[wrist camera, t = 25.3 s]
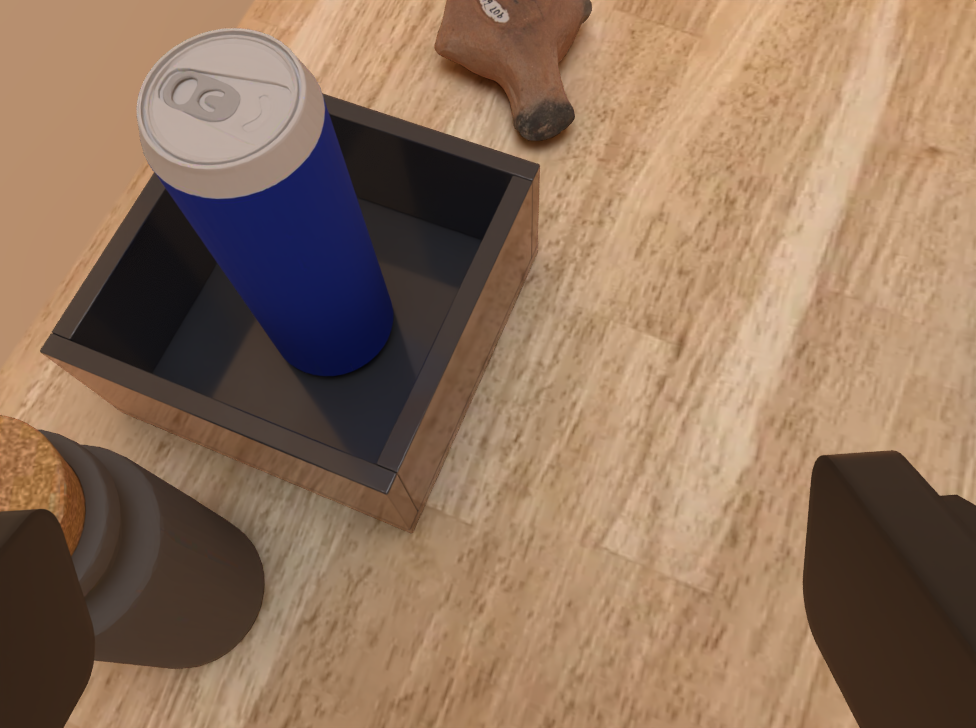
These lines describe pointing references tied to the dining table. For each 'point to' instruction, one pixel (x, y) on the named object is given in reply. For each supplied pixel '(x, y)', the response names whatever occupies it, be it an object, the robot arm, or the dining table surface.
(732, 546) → the dining table surface
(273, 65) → the beverage can
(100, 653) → the bottle
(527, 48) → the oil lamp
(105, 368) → the open box
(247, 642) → the dining table surface
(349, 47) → the dining table surface
